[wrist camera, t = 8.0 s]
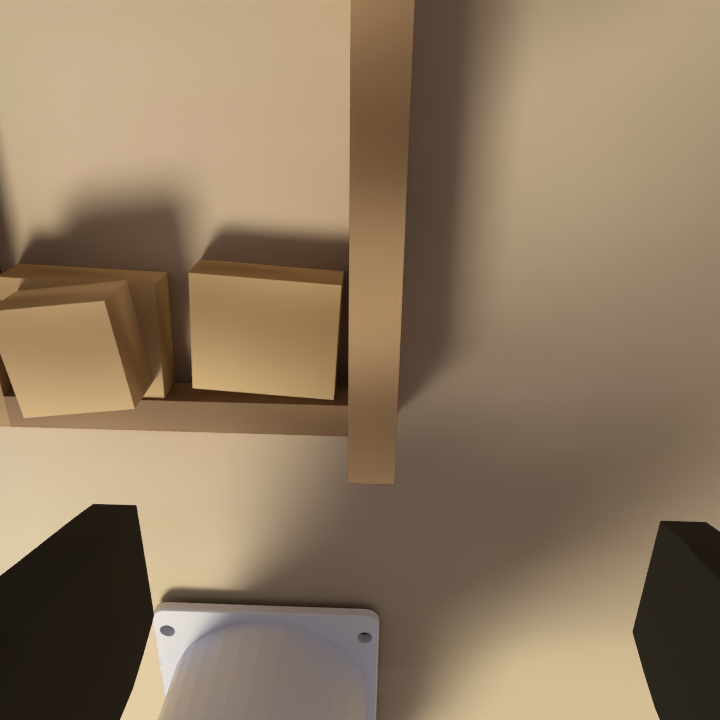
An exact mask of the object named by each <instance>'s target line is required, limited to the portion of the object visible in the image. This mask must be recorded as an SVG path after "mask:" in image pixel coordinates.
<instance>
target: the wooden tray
mask: <svg viewBox="0 0 720 720" xmlns="http://www.w3.org/2000/svg"><path fill="white" fill-rule="evenodd" d="M414 5H415V0H351V49H350V205H349V360H348V387H345V386H336V388H335V395H334V400H327V399H315V398H303V397H291V396H280V395H268V394H256V393H244V392H232V391H220V390H208V389H196V388H193V387H192V382H174V384H173V386H172V387H171V389H170V391H169V392H168V394H167V395H166V397H165V399H162V398H142V399H141V401H140V402H139V403H138V405H137V406H136V408H135V409H128V410H116V411H104V412H92V413H80V414H68V415H56V416H44V417H32V418H24V417H23V414H22V411H21V409H20V406H19V403H18V400H17V398H16V395H15V392H14V390H13V387H12V384H11V381H10V379H9V376H8V373H7V370H6V368H5V365H4V362H3V360H2V357H1V354H0V426H5V427H40V428H75V429H110V430H145V431H180V432H215V433H250V434H285V435H320V436H348V483H362V484H394V480H395V456H396V433H397V409H398V385H399V362H400V338H401V314H402V290H403V267H404V243H405V219H406V195H407V172H408V148H409V124H410V100H411V77H412V53H413V29H414ZM0 274H1V272H0ZM0 302H1V300H0Z"/></svg>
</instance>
